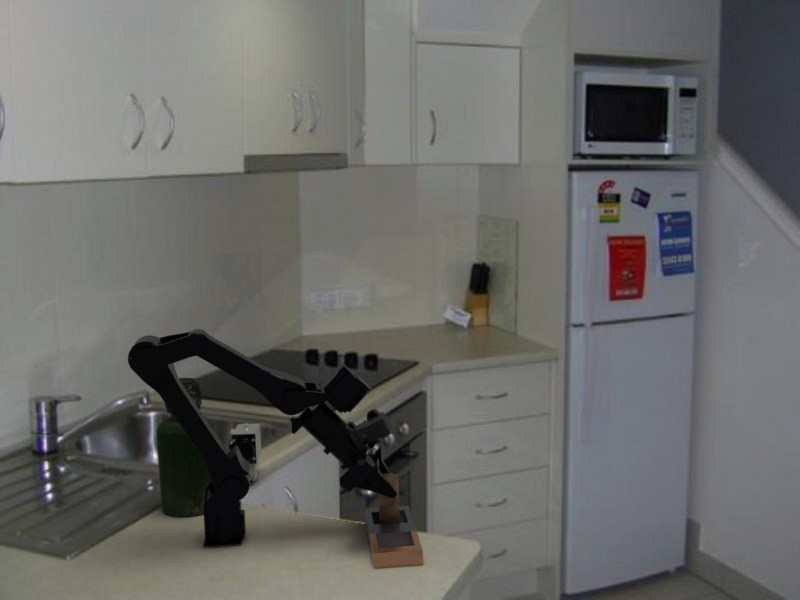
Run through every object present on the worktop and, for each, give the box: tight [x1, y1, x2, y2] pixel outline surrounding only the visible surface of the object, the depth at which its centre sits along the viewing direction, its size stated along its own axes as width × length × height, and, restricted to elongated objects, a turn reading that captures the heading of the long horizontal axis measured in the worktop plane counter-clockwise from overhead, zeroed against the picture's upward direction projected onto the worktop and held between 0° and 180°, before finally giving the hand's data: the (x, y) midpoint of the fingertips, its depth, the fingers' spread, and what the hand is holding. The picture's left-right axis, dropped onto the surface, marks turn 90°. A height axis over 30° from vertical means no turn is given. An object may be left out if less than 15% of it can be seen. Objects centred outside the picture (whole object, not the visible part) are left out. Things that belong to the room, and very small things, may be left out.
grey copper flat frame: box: [364, 505, 424, 569], centre depth 157 cm, size 8×20×2 cm, turn 6°
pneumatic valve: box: [228, 422, 262, 482], centre depth 191 cm, size 6×12×12 cm, turn 2°
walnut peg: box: [377, 472, 400, 524], centre depth 161 cm, size 4×4×10 cm
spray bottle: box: [156, 377, 214, 517], centre depth 174 cm, size 10×10×25 cm
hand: (396, 492), depth 161 cm, fingers closed on walnut peg, 4 cm apart
